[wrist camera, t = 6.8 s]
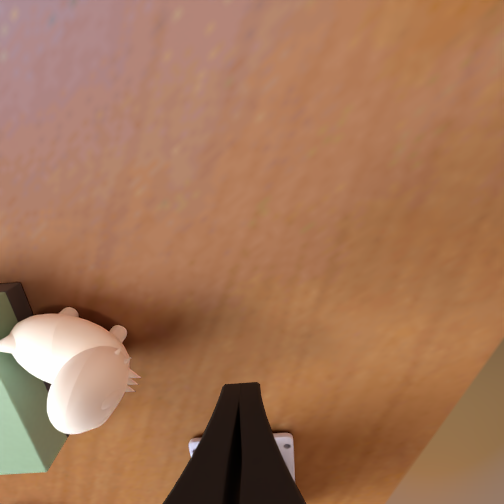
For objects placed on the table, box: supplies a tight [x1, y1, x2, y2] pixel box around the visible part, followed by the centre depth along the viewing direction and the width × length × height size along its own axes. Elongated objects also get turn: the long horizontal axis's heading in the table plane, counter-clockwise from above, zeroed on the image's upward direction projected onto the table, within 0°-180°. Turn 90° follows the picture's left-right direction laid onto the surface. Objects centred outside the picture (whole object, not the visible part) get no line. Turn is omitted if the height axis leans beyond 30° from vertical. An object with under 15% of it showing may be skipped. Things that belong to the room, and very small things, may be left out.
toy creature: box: [0, 307, 141, 434], centre depth 17 cm, size 5×8×6 cm, turn 65°
